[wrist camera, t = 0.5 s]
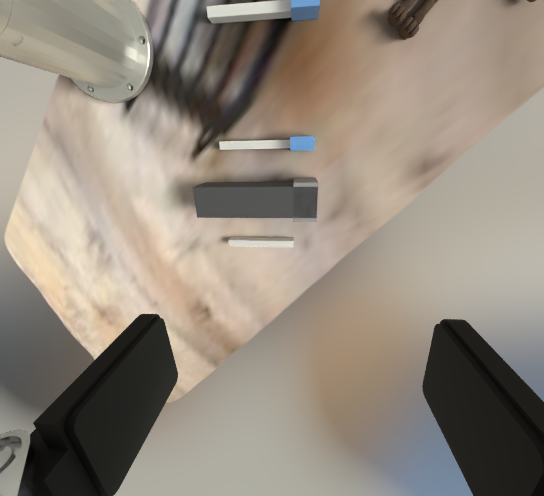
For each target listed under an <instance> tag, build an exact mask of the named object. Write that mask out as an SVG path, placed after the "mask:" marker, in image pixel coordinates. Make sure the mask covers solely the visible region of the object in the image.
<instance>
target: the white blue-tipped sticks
mask: <svg viewBox="0 0 544 496" xmlns="http://www.w3.org/2000/svg"><path fill="white" fill-rule="evenodd" d="M319 8H320V0H278V1H266V2H254V3H242V4H230V5H218V6H207V15H208V19H209V20H210V22H211V23H212V24H215V23H228V22H241V21H254V20H268V19H281V18H292V21H298V20H311V19H318V14H319ZM314 144H315V136H300V137H290V140H262V141H225V142H219V145H220V150H228V149H271V148H290V151H298V150H314ZM228 242H229V246H244V247H293V244H294V238H269V237H230V239H229V240H228Z"/></svg>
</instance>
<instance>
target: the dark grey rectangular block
mask: <svg viewBox="0 0 544 496" xmlns="http://www.w3.org/2000/svg"><path fill="white" fill-rule="evenodd" d="M193 189H194V197H195V204H196V211H197V217H205V218H293V222H316V215H317V194H318V182H317V180H316V178H294V182H212V183H204V184H201V185H199V186H196V187H193Z"/></svg>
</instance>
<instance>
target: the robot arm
mask: <svg viewBox="0 0 544 496" xmlns="http://www.w3.org/2000/svg"><path fill="white" fill-rule="evenodd" d="M0 57H3V58H7V59H10V60H13V61H16V62H20V63H23V64H27V65H30V66H33V67H36V68H40V69H43V70H46V71H50V72H53V73H56V74H59V75H63V76H66V77H69V78H71V80H72V81H73V82H74V83H75V84H76V85H77V86H78V87H79V88H80V89H81V90H83V91H84V92H85V93H87V94H88V95H90V96H92V97H94V98H96V99H99V100H102V101H106V102H112V103H121V102H125V101H128V100H131V99H132V98H134V97H136V96H137V95H138V94H139V93H140V92H141V91H142V90H143V88H144V87H145V85H146V84H147V82H148V80H149V77H150V74H151V70H152V65H153V46H152V39H151V35H150V32H149V28H148V25H147V23H146V21H145V19H144V16H143V15H142V13H141V11H140V10H139V8H138V6H137V5H136V4H135V3H134V1H133V0H0ZM177 378H178V372H177V368H176V364H175V360H174V356H173V353H172V349H171V345H170V341H169V337H168V334H167V330H166V326H165V322H164V320H163V319H162V318H160V316H159V315H158V314H141V315H139V316H138V317H137V318H136V319H135V320H134V321H133V322H132V323H131V324H130V325H129V326H128V327H127V328H126V329H125V330H124V331H123V332H122V333H121V334H120V335H119V336H118V337H117V338H116V339H115V340H114V341H113V342H112V343H111V344H110V345H109V346H108V348H107V349H106V350H105V351H104V352H103V353H102V354H101V355H100V356H99V357H98V358H97V359H96V360H95V361H94V362H93V363H92V364H91V365H90V366H89V367H88V368H87V369H86V370H85V371H84V372H83V373H82V374H81V375H80V376H79V377H78V378H77V379H76V380H75V381H74V382H73V383H72V384H71V385H70V386H69V387H68V388H67V389H66V390H65V391H64V392H63V393H62V394H61V395H60V396H59V397H58V398H57V399H56V400H55V401H54V402H53V403H52V404H51V405H50V406H49V407H48V408H47V409H46V410H45V411H44V413H42V414H41V415H40V416H39V418H38V419H36V421H35V422H34V423H33V424H34V425H35V427H36V429H35V430H34V431H33V432H32V433H31V434H30V435H29V433H28V432H27V431H25V430H13V431H9V432H6V433H3V434H0V496H113V495H114V494H115V493H116V492H117V491H118V489H119V487H120V486H121V484H122V482H123V480H124V478H125V476H126V474H127V473H128V471H129V469H130V467H131V465H132V463H133V461H134V460H135V458H136V456H137V454H138V452H139V451H140V449H141V447H142V445H143V443H144V441H145V439H146V438H147V436H148V434H149V432H150V430H151V428H152V426H153V425H154V423H155V421H156V419H157V417H158V416H159V413H160V412H161V410H162V408H163V406H164V404H165V403H166V401H167V399H168V397H169V395H170V393H171V392H172V390H173V388H174V386H175V384H176V382H177ZM423 393H424V396H425V398H426V400H427V403H428V405H429V407H430V408H431V411H432V413H433V415H434V417H435V418H436V421H437V423H438V425H439V427H440V428H441V431H442V433H443V435H444V437H445V439H446V441H447V443H448V445H449V447H450V449H451V451H452V453H453V455H454V457H455V459H456V461H457V463H458V465H459V467H460V469H461V471H462V473H463V475H464V477H465V479H466V481H467V483H468V486H469V487H470V490H471V491H472V493H473V496H544V402H543V401H542V400H541V399H540V398H539V397H538V396H537V395H536V393H534V392H533V391H532V389H531V388H530V387H529V386H528V385H527V384H526V383H525V382H524V381H523V380H522V379H521V378H520V377H519V376H518V375H517V374H516V373H515V371H513V369H511V367H510V366H509V365H508V364H507V363H506V362H505V361H504V360H503V359H502V358H501V357H500V356H499V355H498V354H497V353H496V352H495V351H494V349H493V348H491V346H490V345H489V344H488V343H487V342H486V341H485V340H484V339H483V338H482V337H481V336H480V335H479V334H478V333H477V332H476V331H475V330H474V329H473V328H472V327H471V325H470V324H469V323H467V322H466V321H465V320H455V319H452V320H451V319H444V320H442V321H441V322H440V324H437V325H436V326H435V328H434V333H433V337H432V342H431V347H430V352H429V356H428V361H427V366H426V371H425V376H424V380H423Z"/></svg>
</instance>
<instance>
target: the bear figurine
mask: <svg viewBox="0 0 544 496" xmlns="http://www.w3.org/2000/svg"><path fill="white" fill-rule="evenodd" d="M415 1H416V0H404V1H403V2H402V3H401V4H400V3H396V4H394V5H393V6H392V8H391V9H390V11H389V18H388V22H389V24H390V25H391V26H392V27H396V26H397V25H398V24H399V23H401V22H402V21H403V20H404V18H405V17H406V15H407V11H408V9H409V8H410V7H411V6H412V4H413V3H414V2H415ZM437 1H438V0H426V1H425V2H424V3H423V4H422V6H421V7H420V8H419V9H418V10H417V11H416V13H415V14H414V15H413V16H412V17H408V18H407V19H406V20H405V21H404V22H403V24H402V26H401V29H400V31H399V35H400V36H401V37H402V38H403V39H404V40H405V39H407V38H411V37H413V36H414V35H415V34H416V33H417V32H418V30H419V24H420V23H421V21H422V20H423V18H424V16H425V15H426V14H427V13H428V11H429V10H430V9H431V8H432V7H433V6H434V4H435V3H436V2H437ZM527 1H529V2H534V1H536V0H527Z"/></svg>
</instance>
